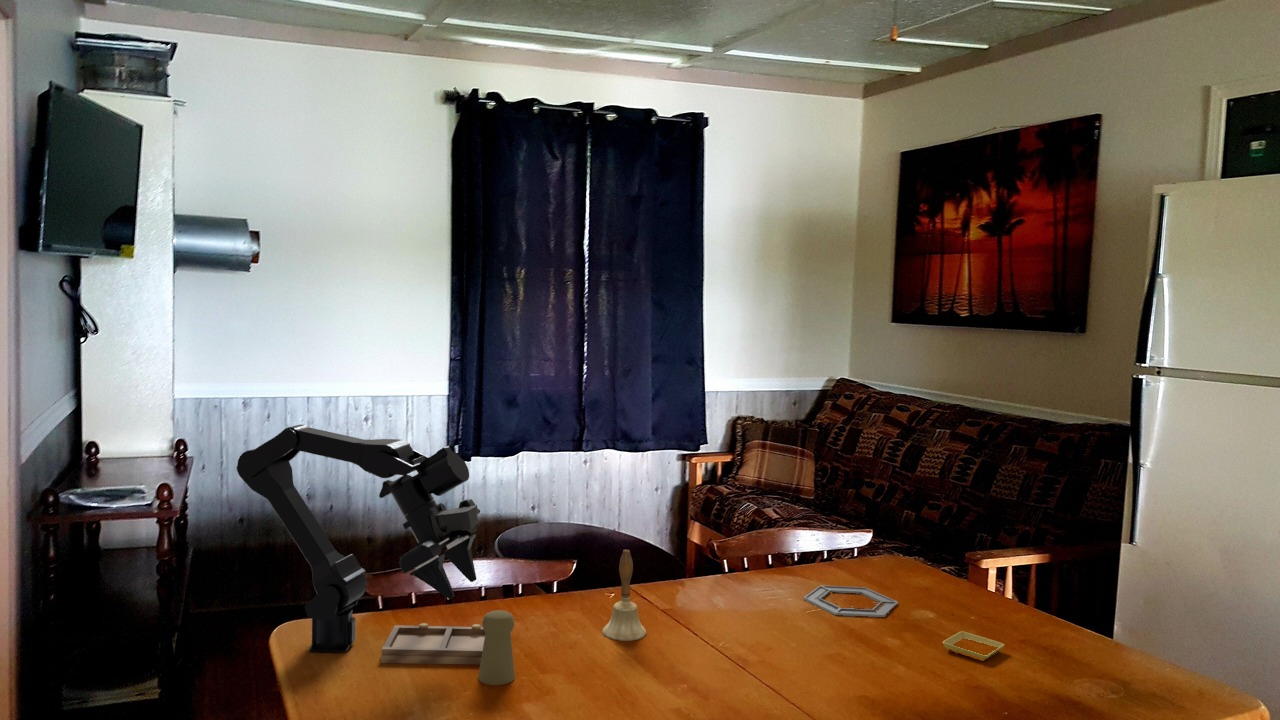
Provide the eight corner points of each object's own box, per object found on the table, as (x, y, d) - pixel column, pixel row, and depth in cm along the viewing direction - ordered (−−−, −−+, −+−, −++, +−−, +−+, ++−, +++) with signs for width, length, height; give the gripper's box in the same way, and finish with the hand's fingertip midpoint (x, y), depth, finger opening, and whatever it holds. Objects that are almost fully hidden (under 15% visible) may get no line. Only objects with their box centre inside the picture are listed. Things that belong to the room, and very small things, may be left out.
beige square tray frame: (1005, 654, 178) (1005, 643, 177) (985, 666, 171) (986, 655, 171) (960, 641, 184) (961, 630, 183) (940, 652, 177) (941, 641, 177)
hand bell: (628, 644, 174) (631, 559, 172) (593, 633, 179) (596, 550, 177) (655, 632, 180) (658, 550, 179) (620, 621, 185) (624, 541, 184)
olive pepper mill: (507, 687, 154) (509, 621, 153) (472, 682, 155) (474, 616, 154) (520, 672, 160) (522, 608, 159) (485, 667, 161) (487, 604, 160)
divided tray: (380, 662, 161) (381, 647, 161) (395, 636, 173) (395, 622, 173) (499, 664, 162) (499, 650, 162) (505, 638, 174) (505, 624, 174)
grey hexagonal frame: (908, 620, 194) (908, 616, 193) (810, 615, 194) (810, 611, 194) (887, 592, 211) (887, 588, 211) (797, 588, 211) (797, 584, 211)
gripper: (432, 498, 151) (479, 585, 150) (478, 476, 169) (521, 553, 168) (378, 529, 153) (424, 615, 153) (429, 504, 172) (470, 580, 171)
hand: (463, 589), depth 161 cm, fingers open, 9 cm apart
